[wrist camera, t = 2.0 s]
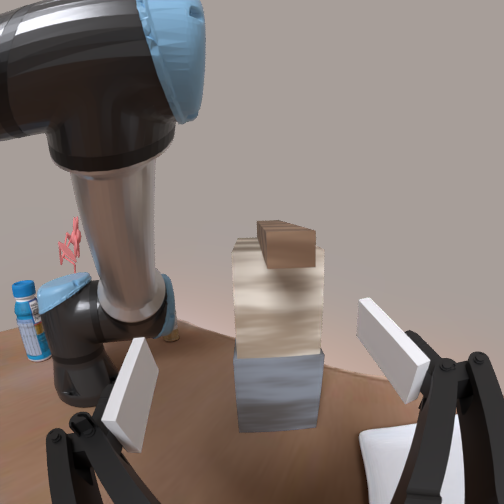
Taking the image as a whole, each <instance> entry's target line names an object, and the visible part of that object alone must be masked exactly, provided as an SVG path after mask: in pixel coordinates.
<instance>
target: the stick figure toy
mask: <svg viewBox="0 0 504 504" xmlns="http://www.w3.org/2000/svg"><path fill="white" fill-rule="evenodd" d="M67 238H68V239H69V243H68V245H67V246H66V240H67ZM80 241H81V232H80V231H79V229H78V217H77V218H76V219H75V217H74V220H73V231H72V234H71V235H69V234H68V233H66V238H65V244H63V243H61V242H58V244H59V255H60V263H61V265H62V262H63V258H65V259H66V260H68V261H69V262H71V263H72V264H73V265H74V273H76V265H75V263H73V262H72V261H71V260H73V261H74V262H77V261H76V257H77V256H78V257H79V256H80V251H79V243H80ZM70 242H71V243H72V244H73V245H74V254H75V255H74V254H73V253H72V251H71V250H70V249H69V248H68V246H69V244H70ZM61 250H62V252H63V255H62V258H61ZM65 255H66V256H67V257H68V258H70V259H71V260H69V259H68V258H66V257H65Z"/></svg>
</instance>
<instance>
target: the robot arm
mask: <svg viewBox="0 0 504 504" xmlns="http://www.w3.org/2000/svg"><path fill="white" fill-rule="evenodd" d="M205 42H206V38H205V19H204V12H203V7H202V4H201V2H200V0H43V1H40V2H37V3H34V4H30V5H26V6H23V7H20V8H17V9H14V10H11V11H9V12H6V13H2V14H0V141H5V140H10V139H14V138H21V137H25V136H30V135H36V134H41V133H45V134H46V136H47V140H48V145H49V151H50V156H51V158H52V161H53V162H54V163H55V164H56V165H57V166H58V167H59V168H61V169H63V170H65V171H68V172H70V175H71V180H72V184H73V189H74V193H75V198H76V202H77V206H78V210H79V213H80V217H81V221H82V225H83V228H84V232H85V235H86V239H87V242H88V245H89V248H90V251H91V254H92V257H93V260H94V263H95V266H96V269H97V272H98V275H99V277H100V280H96V281H92V280H91V276H90V274H89V273H87V272H84V273H74V274H70V275H67V276H63V277H60V278H57V279H54V280H52V281H49V282H47V283H45V284H44V285H42V286H41V287H40V288H39V290H38V292H37V300H38V307H39V314H40V317H41V321H42V325H43V329H44V332H45V336H46V339H47V343H48V346H49V349H50V352H51V355H52V358H53V368H54V385H55V388H56V391H57V393H58V396H59V397H60V399H61V400H62V401H63V402H65V403H66V404H69V405H71V406H75V407H92V406H96V408H95V411H94V413H93V416H92V417H91V415H90V414H89V413H87V412H79V413H76V414H75V415H73V416H72V417H71V419H70V421H69V427H70V428H71V429H72V431H73V432H74V433H71V434H66V433H65V432H64V431H63V430H62V429H60V428H55V429H53V430H51V431H50V432H49V433H48V435H47V437H46V452H47V467H48V477H49V486H50V493H51V499H52V504H103V501H102V498H101V495H100V491H99V488H98V484H97V480H96V476H95V472H96V474H97V476H98V478H99V479H100V481H101V483H102V485H103V486H104V488H105V490H106V491H107V493H108V494H109V496H110V498H111V499H112V501H113V502H114V504H161V503H160V502H159V501H158V500H157V498H156V497H155V496H154V495H153V494H152V492H151V491H150V490H149V489H148V487H147V486H146V485H145V484H144V482H143V481H142V480H141V478H140V477H139V476H138V475H137V473H136V472H135V470H134V469H133V468H132V466H131V465H130V463H129V462H128V461H127V459H126V458H125V456H124V455H123V454H122V453H121V450H122V446H123V447H124V449H125V450H126V451H127V452H132V453H141V451H142V445H143V440H144V435H145V430H146V425H147V420H148V416H149V411H150V407H151V402H152V398H153V393H154V389H155V385H156V381H157V376H158V372H159V369H158V367H157V365H156V363H155V360H154V358H153V356H152V353H151V351H150V349H149V346H148V344H147V341H146V339H147V338H153V339H154V338H155V339H156V338H159V337H161V336H167V335H169V334H170V333H171V332H172V331H173V329H174V325H175V314H174V312H175V300H174V292H173V288H172V283H171V280H170V278H169V277H168V276H167V275H165V274H161V273H160V272H159V271H158V269H157V268H155V249H154V186H155V162H156V158H157V157H159V156H160V155H161V154H162V153H164V152H165V151H166V150H167V149H168V148H169V147H170V145H171V143H172V141H173V138H174V131H175V124H176V122H178V123H179V124H184V123H186V122H189V121H193V120H194V119H195V118H196V117H197V116H198V110H199V109H200V106H201V101H202V95H203V85H204V72H205ZM356 336H357V337H358V338H359V340H360V341H361V343H362V344H363V345H364V347H365V348H366V349H367V351H368V352H369V354H370V355H371V356H372V358H373V359H374V360H375V362H376V363H377V365H378V366H379V367H380V369H381V370H382V372H383V373H384V375H385V376H386V377H387V379H388V380H389V382H390V383H391V385H392V386H393V387H394V389H395V390H396V392H397V393H398V395H399V396H400V397H401V399H402V400H403V402H404V403H405V404H407V403H409V402H411V401H413V400H416V399H417V398H418V395H419V393H420V392H421V393H422V394H423V399H422V401H421V403H420V406H419V408H418V409H420V412H419V416H418V421H417V425H416V429H415V433H414V437H413V440H412V444H411V447H410V451H409V454H408V457H407V460H406V463H405V466H404V469H403V472H402V475H401V478H400V480H399V483H398V485H397V488H396V491H395V493H394V495H393V498H392V500H391V502H390V504H441V503H442V497H441V496H440V492H441V488H442V484H443V480H444V476H445V472H446V468H447V464H448V459H449V454H450V449H451V443H452V437H453V430H454V422H455V413H456V408H457V413H458V420H459V426H460V433H461V441H462V451H463V463H464V487H465V498H464V504H504V398H503V395H502V392H501V389H500V386H499V383H498V380H497V377H496V375H495V372H494V370H493V367H492V365H491V362H490V360H489V358H488V356H487V355H486V354H484V353H482V352H473V353H472V354H470V356H469V359H468V361H463V362H459V363H456V362H455V361H453V360H452V359H449V358H441V357H440V356H439V355H438V354H437V353H436V352H435V351H434V350H433V349H432V348H431V347H430V346H429V345H428V344H427V343H426V342H425V341H424V340H423V339H422V338H421V337H420V336H419V335H418V334H417V333H414V332H413V331H410V330H409V331H406V332H403V331H402V330H401V329H400V328H399V327H398V326H397V325H396V324H395V323H394V322H393V321H392V319H390V317H388V316H387V315H386V313H385V312H384V311H383V310H381V309H380V307H379V306H378V305H377V304H376V303H374V302H373V301H372V300H371V299H370V298H369V297H368V298H364V299H361V300H359V301H358V320H357V334H356ZM128 340H133V341H132V343H131V346H130V348H129V350H128V353H127V355H126V357H125V360H124V362H123V365H122V367H121V369H120V372H118V370H117V368H116V367H115V365H114V364H113V362H112V361H111V359H110V358H109V356H108V355H107V353H106V351H105V350H104V346H103V343H107V342H117V341H128ZM94 470H95V472H94Z"/></svg>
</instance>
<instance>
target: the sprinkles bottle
mask: <svg viewBox="0 0 504 504" xmlns="http://www.w3.org/2000/svg"><path fill="white" fill-rule="evenodd" d="M174 314H175V325H174V329H173V331H172V332H171V333H170V334H169V335H167V336H163V339H164V340H165V341H176V340H177V339H179V335H178V325H177V317H176V310H175V312H174Z"/></svg>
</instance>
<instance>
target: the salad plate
mask: <svg viewBox="0 0 504 504" xmlns="http://www.w3.org/2000/svg"><path fill="white" fill-rule="evenodd" d="M416 425H417V423H415V424H409V425H403V426H396V427H387V428H378V429H370V430H365V431H362V432H361V433H360V434H359V443H360V448H361V452H362V457H363V461H364V466H365V471H366V477H367V484H368V494H369V504H390V502H391V500H392V498H393V495H394V493H395V491H396V488H397V485H398V483H399V480H400V478H401V475H402V472H403V469H404V466H405V463H406V460H407V457H408V454H409V451H410V447H411V444H412V440H413V437H414V433H415V429H416ZM440 496H441V497H442V503H441V504H464V498H465V487H464V463H463V451H462V441H461V433H460V426H459V420H458V414H455V422H454V430H453V437H452V443H451V449H450V454H449V459H448V464H447V468H446V472H445V476H444V480H443V484H442V488H441V492H440Z"/></svg>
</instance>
